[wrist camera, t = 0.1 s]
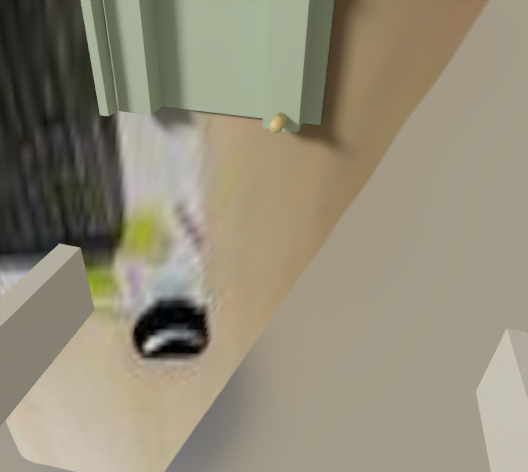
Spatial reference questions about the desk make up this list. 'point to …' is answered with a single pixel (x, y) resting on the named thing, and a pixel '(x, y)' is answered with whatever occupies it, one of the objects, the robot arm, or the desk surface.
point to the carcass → (212, 57)
